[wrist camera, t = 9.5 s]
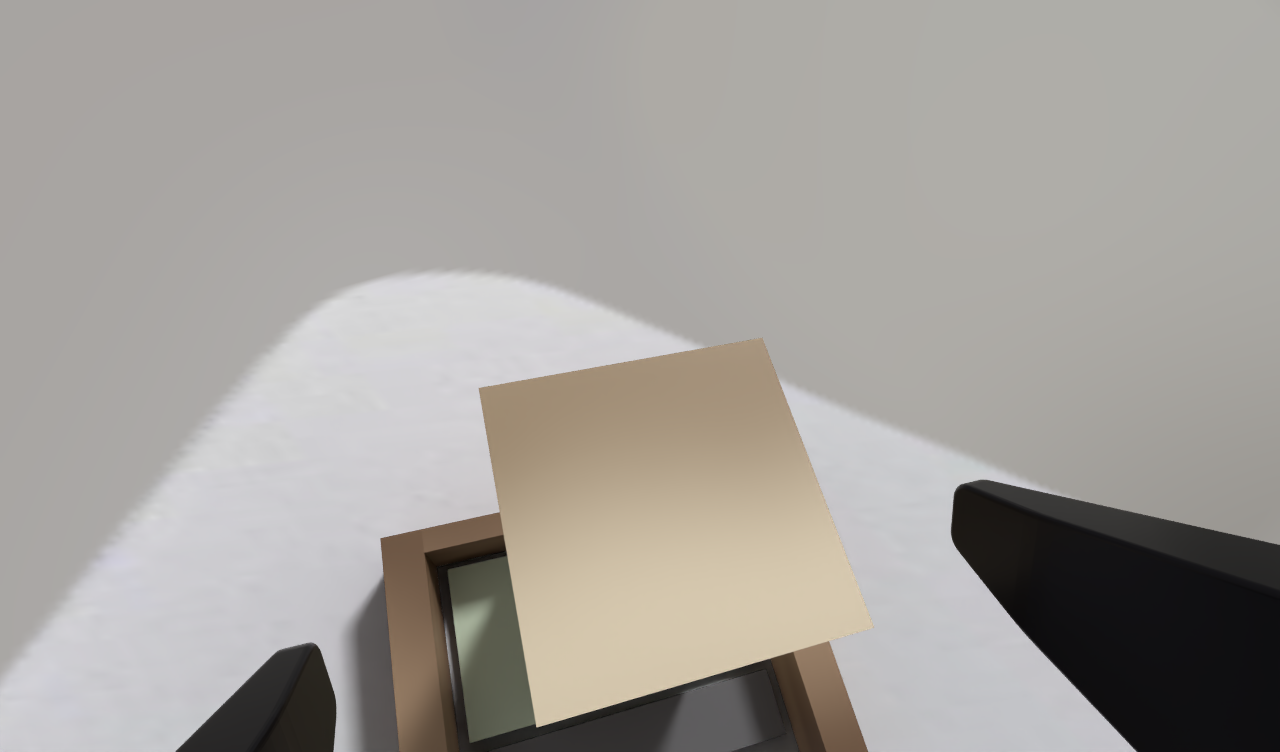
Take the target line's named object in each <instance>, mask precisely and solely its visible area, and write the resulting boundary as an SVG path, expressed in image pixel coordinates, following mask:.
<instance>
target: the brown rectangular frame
mask: <svg viewBox="0 0 1280 752" xmlns="http://www.w3.org/2000/svg"><path fill="white" fill-rule="evenodd" d="M381 550H382V561H383V572H384V583H385V594H386V606H387V617H388V628H389V639H390V651H391V662H392V673H393V684H394V696H395V707H396V718H397V729H398V741H399V752H460V750H459V742H458V734H457V726H456V718H455V710H454V702H453V694H452V685H451V677H450V669H449V661H448V653H447V645H446V637H445V628H444V620H443V612H442V604H441V596H440V588H439V580H438V572H437V567H439V566H444V565H448V564H452V563H456V562H461V561H465V560H469V559H474V558H478V557H482V556H487V555H491V554H495V553H500V552H504V551H506V545H505V539H504V533H503V527H502V522H501V516H500V512H499V513H494V514H490V515H485V516H481V517H476V518H471V519H467V520H462V521H458V522H453V523H449V524H444V525H439V526H435V527H430V528H426V529H421V530H417V531H412V532H407V533H403V534H398V535H394V536H389V537H385V538H381ZM770 659H771V662H772V665H773V669H774V672H775V675H776V678H777V681H778V684H779V688H780V691H781V694H782V697H783V700H784V703H785V707H786V710H787V713H788V716H789V719H790V722H791V726H792V729H793V732H794V735H795V738H796V741H797V745H798V748H799V751H800V752H868V750H867V747H866V745H865V742H864V739H863V736H862V733H861V730H860V728H859V725H858V722H857V719H856V716H855V714H854V711H853V708H852V705H851V702H850V699H849V697H848V694H847V691H846V688H845V685H844V683H843V680H842V677H841V674H840V671H839V668H838V666H837V663H836V660H835V657H834V654H833V651H832V649H831V646H830V643H829V641H827V642H824V643H821V644H817V645H814V646H811V647H807V648H804V649H800V650H797V651H794V652H790V653H787V654H784V655H780V656H777V657H773V658H770Z"/></svg>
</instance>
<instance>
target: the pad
mask: <svg viewBox="0 0 1280 752" xmlns="http://www.w3.org/2000/svg"><path fill="white" fill-rule="evenodd" d="M447 571H448V579H449V587H450V595H451V602H452V610H453V618H454V625H455V633H456V641H457V649H458V656H459V664H460V672H461V680H462V687H463V695H464V703H465V710H466V718H467V726H468V734H469V741H470V743H472V742H476V741H479V740H482V739H486V738H489V737H493V736H496V735H499V734H503V733H506V732H510V731H513V730H516V729H520V728H523V727H527V726H530V725H534V724H536V721H535V715H534V709H533V704H532V698H531V692H530V686H529V680H528V674H527V668H526V662H525V657H524V651H523V645H522V639H521V633H520V627H519V621H518V615H517V610H516V604H515V598H514V592H513V586H512V580H511V574H510V569H509V563H508V557H507V556H504V557H500V558H495V559H491V560H487V561H482V562H478V563H474V564H470V565H465V566H461V567H457V568H452V569H448V570H447Z"/></svg>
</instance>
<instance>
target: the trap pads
mask: <svg viewBox="0 0 1280 752" xmlns="http://www.w3.org/2000/svg"><path fill="white" fill-rule="evenodd" d="M784 734H786V731H785V728H784V725H783V722H782V719H781V715H780V712H779V709H778V706H777V702H776V699H775V696H774V693H773V690H772V686H771V683H770V680H769V677H768V674H767V670H766V669H763V670H760V671H756V672H753V673H750V674H746V675H743V676H739V677H736V678H733V679H729V680H726V681H723V682H719V683H716V684H713V685H709V686H706V687H702V688H699V689H696V690H692V691H689V692H686V693H682V694H679V695H676V696H672V697H669V698H665V699H662V700H659V701H655V702H652V703H649V704H645V705H642V706H639V707H635V708H632V709H628V710H625V711H622V712H618V713H615V714H612V715H608V716H605V717H602V718H598V719H595V720H591V721H588V722H585V723H581V724H578V725H575V726H571V727H568V728H565V729H561V730H558V731H554V732H551V733H548V734H544V735H541V736H538V737H534V738H531V739H528V740H524V741H521V742H517V743H514V744H511V745H507V746H504V747H501V748H497V749H494V750H491V751H487V752H732V751H735V750H738V749H741V748H744V747H747V746H750V745H753V744H756V743H760V742H763V741H766V740H769V739H772V738H775V737H778V736H781V735H784Z"/></svg>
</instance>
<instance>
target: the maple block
mask: <svg viewBox="0 0 1280 752" xmlns="http://www.w3.org/2000/svg"><path fill="white" fill-rule="evenodd" d="M479 392H480V398H481V404H482V410H483V416H484V422H485V428H486V434H487V439H488V445H489V451H490V457H491V463H492V469H493V475H494V480H495V486H496V492H497V498H498V504H499V510H500V516H501V522H502V527H503V533H504V539H505V545H506V551H507V557H508V563H509V569H510V574H511V580H512V586H513V592H514V598H515V604H516V610H517V615H518V621H519V627H520V633H521V639H522V645H523V651H524V657H525V662H526V668H527V674H528V680H529V686H530V692H531V698H532V704H533V709H534V715H535V721H536V727H540V726H544V725H547V724H550V723H554V722H557V721H561V720H564V719H567V718H571V717H574V716H577V715H581V714H584V713H588V712H591V711H594V710H598V709H601V708H604V707H608V706H611V705H615V704H618V703H621V702H625V701H628V700H631V699H635V698H638V697H642V696H645V695H648V694H652V693H655V692H659V691H662V690H665V689H669V688H672V687H675V686H679V685H682V684H686V683H689V682H692V681H696V680H699V679H702V678H706V677H709V676H713V675H716V674H719V673H723V672H726V671H729V670H733V669H736V668H740V667H743V666H746V665H750V664H753V663H756V662H760V661H763V660H767V659H770V658H773V657H777V656H780V655H784V654H787V653H790V652H794V651H797V650H800V649H804V648H807V647H811V646H814V645H817V644H821V643H824V642H827V641H831V640H834V639H838V638H841V637H844V636H848V635H851V634H854V633H858V632H861V631H865V630H868V629H871V628H874V626H873V623H872V621H871V618H870V615H869V613H868V610H867V608H866V605H865V602H864V600H863V597H862V595H861V592H860V589H859V587H858V584H857V582H856V579H855V577H854V574H853V571H852V569H851V566H850V564H849V561H848V558H847V556H846V553H845V551H844V548H843V545H842V543H841V540H840V538H839V535H838V533H837V530H836V527H835V525H834V522H833V520H832V517H831V514H830V512H829V509H828V507H827V504H826V501H825V499H824V496H823V494H822V491H821V489H820V486H819V483H818V481H817V478H816V476H815V473H814V470H813V468H812V465H811V463H810V460H809V457H808V455H807V452H806V450H805V447H804V445H803V442H802V439H801V437H800V434H799V432H798V429H797V426H796V424H795V421H794V419H793V416H792V413H791V411H790V408H789V406H788V403H787V401H786V398H785V395H784V393H783V390H782V388H781V385H780V382H779V380H778V377H777V375H776V372H775V369H774V367H773V364H772V362H771V359H770V357H769V354H768V351H767V349H766V346H765V344H764V341H763V338H759V339H753V340H747V341H742V342H736V343H730V344H725V345H719V346H714V347H708V348H702V349H697V350H691V351H685V352H680V353H674V354H668V355H663V356H657V357H652V358H646V359H640V360H635V361H629V362H623V363H618V364H612V365H606V366H601V367H595V368H590V369H584V370H578V371H573V372H567V373H561V374H556V375H550V376H544V377H539V378H533V379H528V380H522V381H516V382H511V383H505V384H499V385H494V386H488V387H482V388H479Z"/></svg>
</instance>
